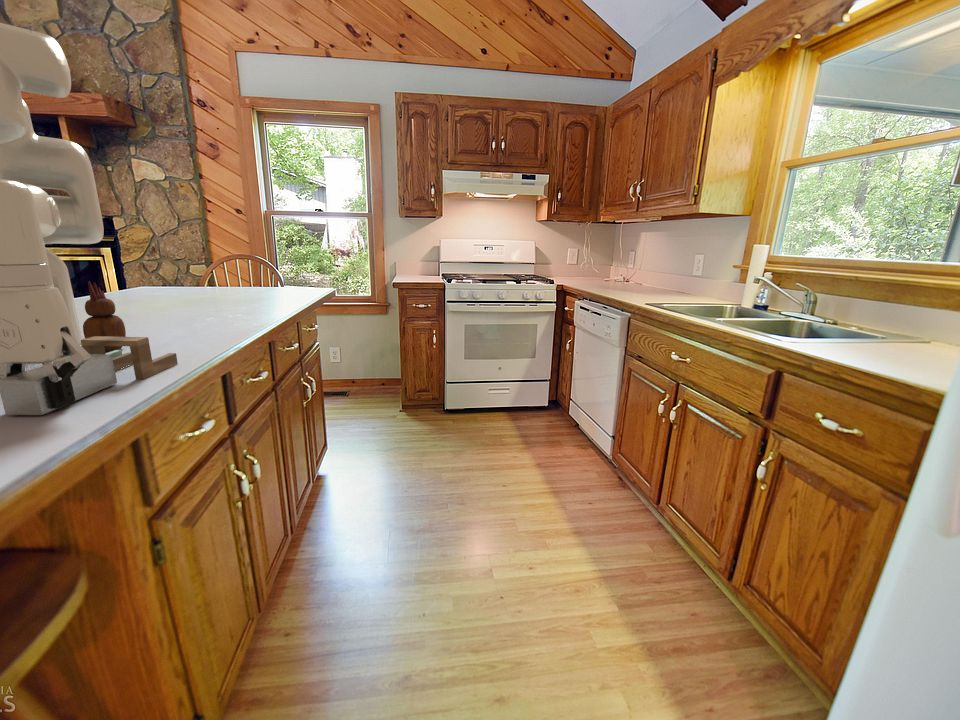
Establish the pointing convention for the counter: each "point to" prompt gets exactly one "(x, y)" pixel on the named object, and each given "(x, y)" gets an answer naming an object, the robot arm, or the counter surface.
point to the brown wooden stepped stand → (131, 354)
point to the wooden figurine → (102, 317)
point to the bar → (30, 386)
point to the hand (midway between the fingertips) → (44, 403)
